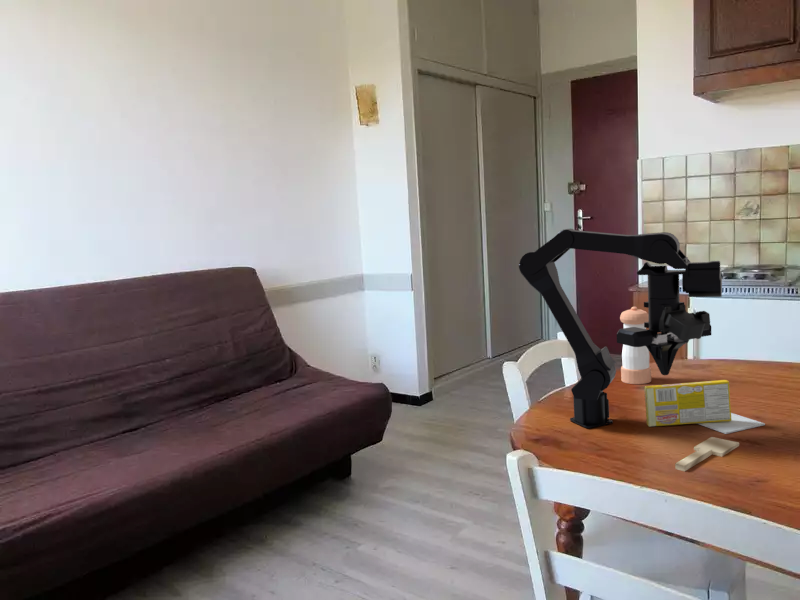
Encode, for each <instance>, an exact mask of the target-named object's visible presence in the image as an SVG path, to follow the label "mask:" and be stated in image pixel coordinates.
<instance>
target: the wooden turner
mask: <svg viewBox="0 0 800 600" xmlns="http://www.w3.org/2000/svg"><path fill="white" fill-rule="evenodd" d="M738 447H740V442H738V441H733V440H729V439H723V438H719V437H714V436H711V437H708V438H707V439H706V440H704V441H702V442H700V443H699V444H697V445H695V446H694V447H693V451H694V452H693V453H691V454H688V455H687V456H686V457H684V458H683V459H681V460H679V461H677V462H676V463H675V465H674V466H675V468H674V469H675V470H678V471H682V472H686V471H688V470H689V469H691V468H693V467H694V466H696V465H698V464H699V463H700V462H702V461H704V460H706V459H707V458H709V457H711V456H712V455H713V456H717V457H721V458H722V457H724V456H725V455H727V454H729V453H730V452H732V451H733V450H735V449H736V448H738Z"/></svg>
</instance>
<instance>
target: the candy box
mask: <svg viewBox="0 0 800 600" xmlns="http://www.w3.org/2000/svg"><path fill="white" fill-rule="evenodd" d="M643 389H644V401H645V418H646V421H645V422H646V425H647V426H648V427H649V428H651V427H662V426H679V425H691V424H696V423H709V422H723V421H731V413H732V409H731V408H732V407H731V395H730V394H731V393H730V392H731V391H730V381H729V380H727V379H720V380H719V379H717V380H707V381H694V382H682V383H681V382H680V383H669V384H658V385H657V384H656V385H644V387H643Z"/></svg>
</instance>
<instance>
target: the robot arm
mask: <svg viewBox="0 0 800 600" xmlns="http://www.w3.org/2000/svg"><path fill="white" fill-rule="evenodd" d="M680 245H681V244H680V241H679V239H678V238H677V236H676V235H675V234H673V233H671V232H667V231H665V232H651V233H641V234H622V233H610V232H599V231H588V230H576V229H574V228H565V229H562V230H560V231H558V232H557V234H556V235H555V236H553V237H552V238H551V239H550V240H549V241H547V242H546V243H545V244H543V245H542V246H540V247H539V248H538V249H536V250H533V251H529V252H526V253H525V254H523V255H522V257H521V258H520V260H519V263H518V269H519V272H520V274H521V275H522V276H523V278H524V279H525V280H526V281H527V283H528V284H529V285H530V286H532V288H533V289H535V290H536V291H537V292H538V293H539V294H540V295H541V296H542V298H543V300H544V301H545V304H546V305H547V307H548V308H549V310H550V312H551V314H552V315H553V317H554V319H555V321H556V322H557V325H558V326H559V328H560V329H561V332H562V333H563V335H564V336H565V339H566V341H567V343H568V344H569V345H570V347H571V349H572V351H573V353H574V356H575V360H576V366H577V370H578V372H579V375H580V378H579V380H578V381H577V382H576V383H575V384H574V386H573V387H572V388H571V390H570V391H571V393H572V396H573V399H572V400H573V417H570V418H569V421H570V422H573V423H574V424H576V425H579V426H582V427H584V428H585V429H592V428H595V427H600V426H608V425H611V424H613V420H612V419H610V404H609V403H610V401H609V399H608V392H604V391H605V390H606V389H608V387H609V385H610V384H611V383H612V382H613V381H614V379H615V378H616V373H617V368H616V366H615V365H616V364H617V361H616V360H615V359H613V358H612V356H611V354H610V351H609V348H608V347H607V345H606V346H604V347H603V348H600V347H599V346H597V344H596V343H594V341H593V340H592V338H591V335H590V334H589V333H588V331H587V330H586V328H585V326H584V324H583V322H582V321H581V318H580V317H579V315H578V313H577V312H576V310H575V308H574V307H573V304H572V303H571V301H570V300H569V298H568V296H567V295H566V293H565V291H564V289H563V287H562V285H561V282H560V278H559V277H560V276H559V272H558V269H557V266H556V262H557V261H559V260H560V258H562V257H563V256H564V255H565V254H566V253H567V252H568V251H570V249H573V250H581V251H592V252H602V253H611V254H621V255H622V254H623V255H627V256H631V257H634V258H636V259H640V260H644V261H645V262H644V264H643V265H642V267H641V268H640V269H639V270H638V271H637V272H636V275H637V276H647V301H644V302H643V308H647V309H648V310H647V311H648V312H647V313H648V318H649V320H648V322H644V327H645V328H646V329H642V328H637V327H630V328H624V327H623V328H619V329H618V331H617V333H616V343H617V344H620V345H623V344H624V345H628V346H632V347H642V346H646V347H647V349H648V350H649V354H650V355H651V357H652V358H653V361H654V363H655V364H656V366H657V368H658V371H659V372H660V374H661V375H662V376H668V375H670V372H671V370H672V366H673V363H674V360H675V359H676V355H677V353H678V352H679V349H680V348H682V347H683V346H684V345H685V344H688V343H689V341H690V340H695V339H697V340H700V339H701V338H702V337H709V336H712V325H711V319H710V318H711V317H710V313H709V312H707V311H705V310H701V311H696V312H695V313H694V312H691V313H690V312H688V311H687V309H686V307H687V306H686V304H685V302H684V301H680V275H681V276H682V278H681V279H682V280H681V282H682V283H681V285H682V286H681V287H682V288H681V289H682V292H683V293H685V294H688V297H689V298H722V297H723V296H722V295H723V294H722V293H723V277H722V275H721V274H722V273H721V270H722V269H721V261H720V260H711V261H706V262H705V261H704V262H703V261H702V262H701V261H699V262H691V261H690V260H689V257H687V255H685V253H683V251H682V250H681V248H680V247H681V246H680ZM650 263H654V264H656V265H652V264H650ZM657 264H659V265H657ZM668 266H669V267H671V268H673V269H668Z"/></svg>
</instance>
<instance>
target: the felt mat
mask: <svg viewBox="0 0 800 600" xmlns="http://www.w3.org/2000/svg"><path fill="white" fill-rule="evenodd" d="M695 424H696V425H700V426H702V427H705V428H708V429H711V430H712V431H713V430H714V431H716V432H719V433H722V434H725V435H727V434H732V433H736V432H740V431H745V430H749V429H754V428H757V427H758V428H759V427H762V426H765V425H766V423H764V422H761V421H758V420H756V419H752V418H749V417H746V416H742V415H739V414H736V413H733V412H731V421H723V422H709V423H695Z"/></svg>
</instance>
